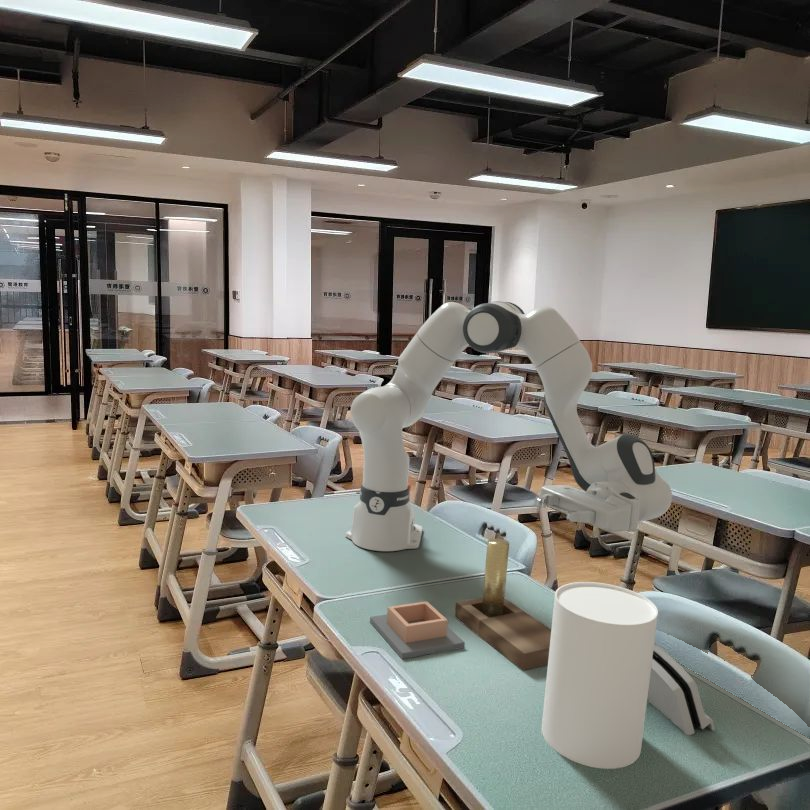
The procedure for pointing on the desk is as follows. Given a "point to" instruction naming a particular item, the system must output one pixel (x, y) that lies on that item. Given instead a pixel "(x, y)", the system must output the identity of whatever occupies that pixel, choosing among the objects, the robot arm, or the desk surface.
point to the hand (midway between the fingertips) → (552, 509)
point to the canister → (598, 673)
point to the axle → (495, 577)
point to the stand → (416, 630)
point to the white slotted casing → (676, 693)
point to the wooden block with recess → (508, 632)
